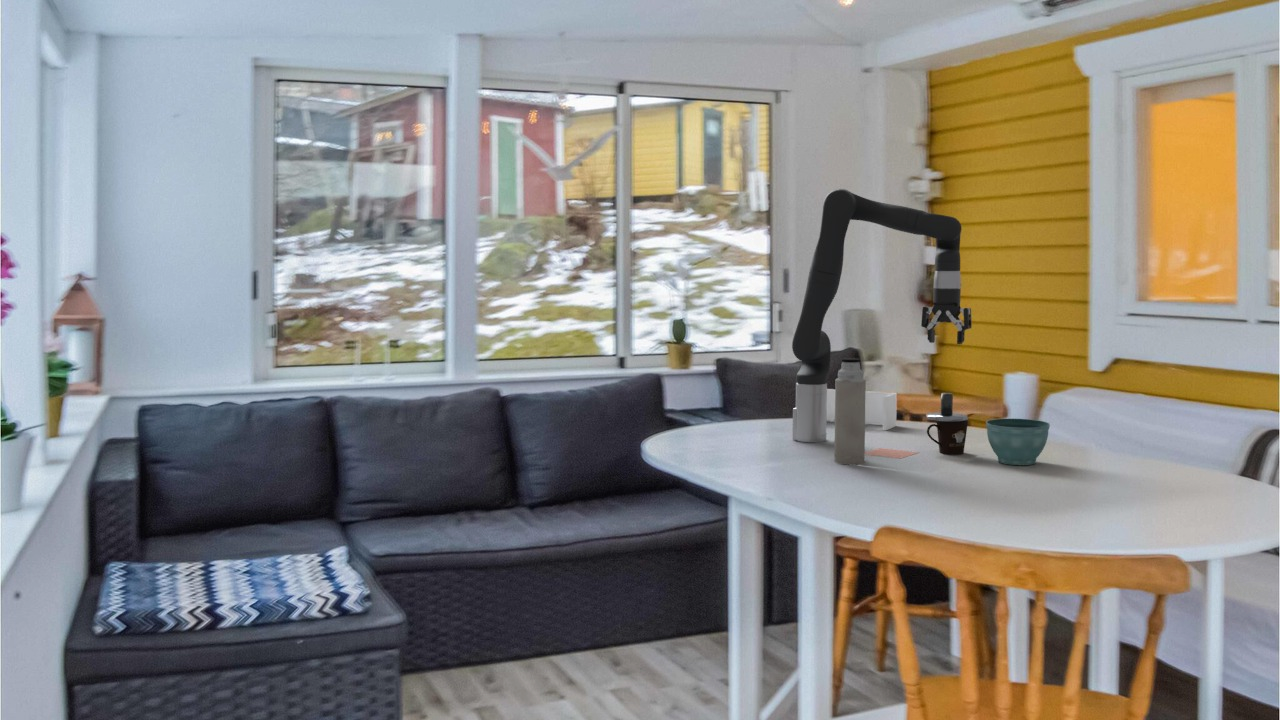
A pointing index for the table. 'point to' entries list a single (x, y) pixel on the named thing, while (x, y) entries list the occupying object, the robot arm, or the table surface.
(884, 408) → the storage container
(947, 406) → the lid
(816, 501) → the table surface
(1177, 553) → the table surface
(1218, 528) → the table surface
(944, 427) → the coffee mug
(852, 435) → the thermos bottle
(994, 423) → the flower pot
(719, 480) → the table surface
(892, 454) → the mat
